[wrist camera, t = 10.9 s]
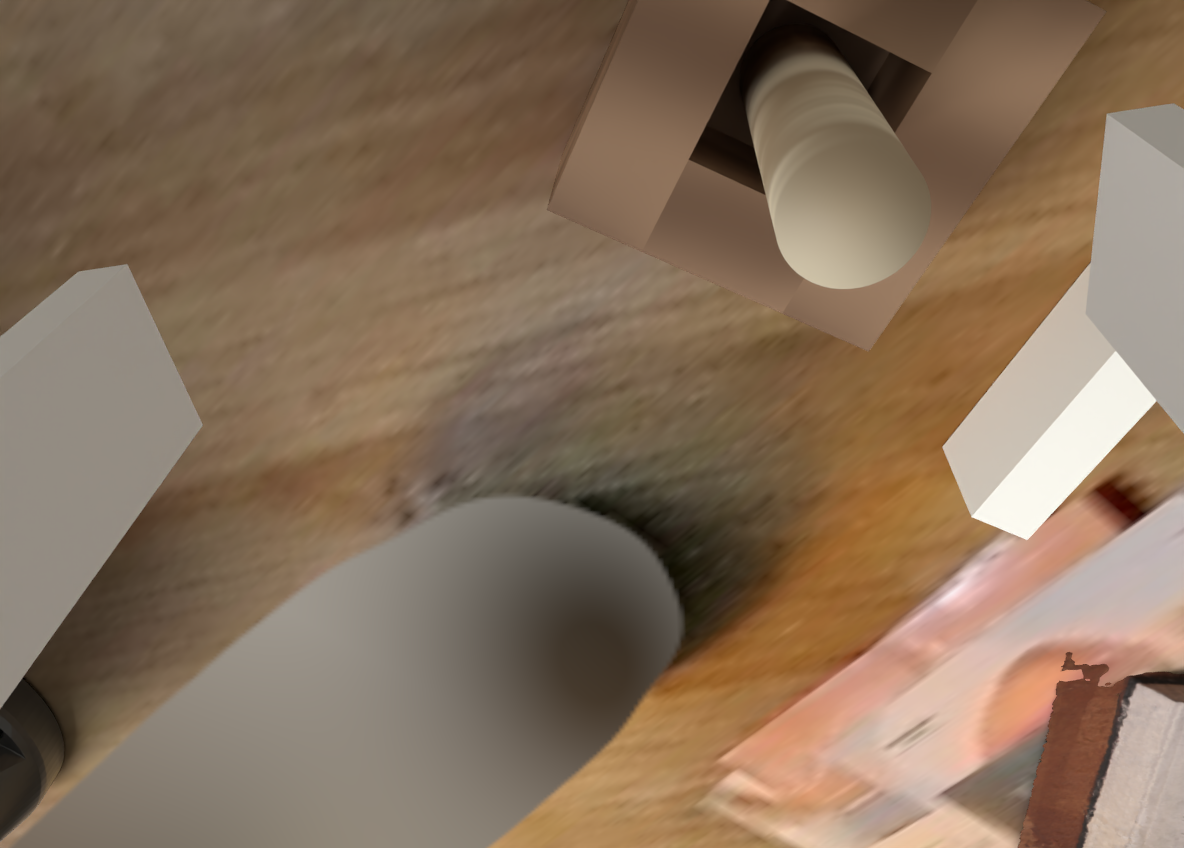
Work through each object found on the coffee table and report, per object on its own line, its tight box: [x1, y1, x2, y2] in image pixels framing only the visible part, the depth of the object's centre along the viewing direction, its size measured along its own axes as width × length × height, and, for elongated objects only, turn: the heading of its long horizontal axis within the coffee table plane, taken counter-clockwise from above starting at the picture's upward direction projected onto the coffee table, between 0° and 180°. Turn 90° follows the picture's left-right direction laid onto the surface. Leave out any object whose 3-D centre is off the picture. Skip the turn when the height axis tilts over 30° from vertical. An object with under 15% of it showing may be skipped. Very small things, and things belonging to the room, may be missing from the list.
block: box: [547, 0, 1107, 351], centre depth 29 cm, size 11×11×5 cm
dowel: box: [740, 24, 931, 289], centre depth 25 cm, size 3×3×12 cm
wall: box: [942, 263, 1157, 540], centre depth 32 cm, size 20×2×4 cm, turn 156°
